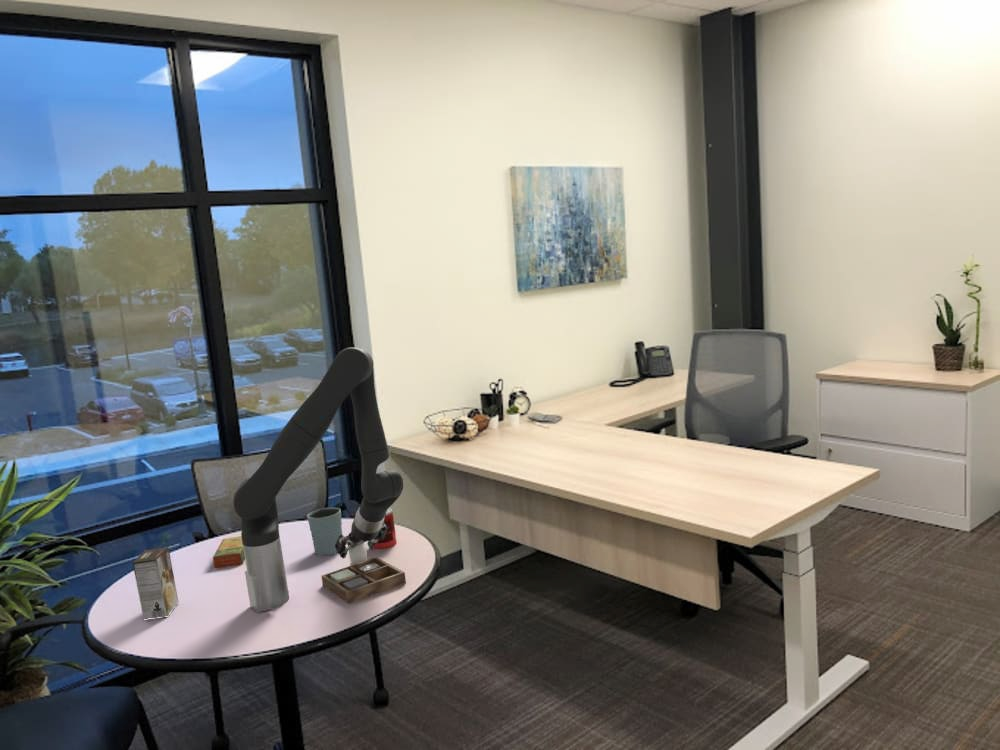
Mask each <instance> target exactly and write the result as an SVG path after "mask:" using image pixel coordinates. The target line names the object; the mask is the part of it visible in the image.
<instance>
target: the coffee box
mask: <svg viewBox="0 0 1000 750" xmlns="http://www.w3.org/2000/svg"><path fill="white" fill-rule="evenodd" d="M169 549H170V548H169V546H166V547H165V546H164V547H160V548H152V549H146V550H144V551H143V552H142V553H141V554H140V555H139V556H138V557H137V558H136V559H135V560H133V562H132V566H133V571H134V577H135V582H136V588H137V593H138V598H139V602H140V608H141V613H142V614H141V615H142V618H143V620H144V619H148V618H157V617H165V616H168V615H169V613H170V612H171V611H172V610H173V609H174V607H175V606H176V605H177V603H178V602H179V597H178V592H177V591H178V590H177V587H176V582H175V576H174V574H175V573H174V570H173V565H172V559H171V554H170V550H169ZM179 603H180V602H179ZM179 603H178V604H179ZM177 606H178V605H177ZM177 606H176V607H177ZM176 607H175V608H176ZM174 610H175V609H174ZM174 610H173V611H174ZM173 611H172V612H173ZM169 616H170V615H169Z"/></svg>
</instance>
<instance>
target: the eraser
mask: <svg viewBox="0 0 1000 750" xmlns="http://www.w3.org/2000/svg"><path fill="white" fill-rule="evenodd" d="M367 584H368V581H366V580H365V579H363V578H361V577H360V578H357V579H354V580H351V581H349V582H346V583H343V585H344V588H345V589H347V590H348V591H350V590H353V589H355V588H358V587H361V586H364V585H367Z"/></svg>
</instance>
